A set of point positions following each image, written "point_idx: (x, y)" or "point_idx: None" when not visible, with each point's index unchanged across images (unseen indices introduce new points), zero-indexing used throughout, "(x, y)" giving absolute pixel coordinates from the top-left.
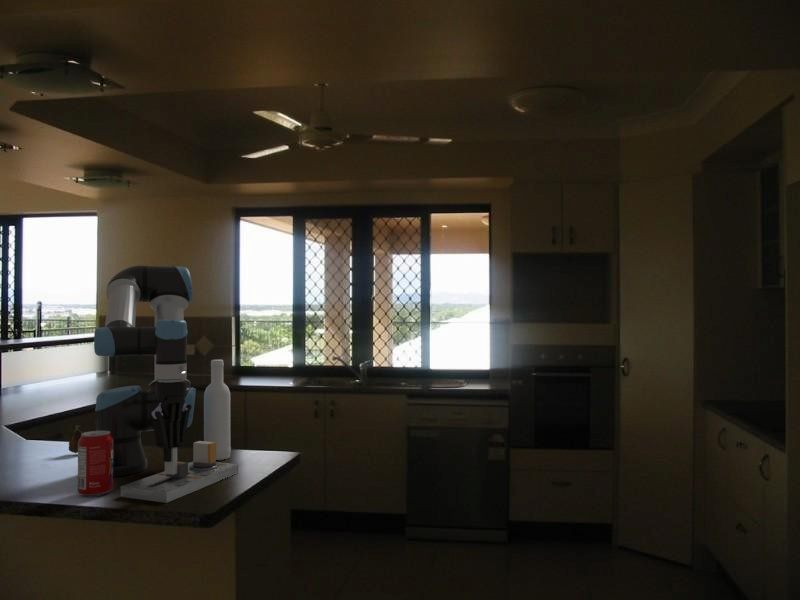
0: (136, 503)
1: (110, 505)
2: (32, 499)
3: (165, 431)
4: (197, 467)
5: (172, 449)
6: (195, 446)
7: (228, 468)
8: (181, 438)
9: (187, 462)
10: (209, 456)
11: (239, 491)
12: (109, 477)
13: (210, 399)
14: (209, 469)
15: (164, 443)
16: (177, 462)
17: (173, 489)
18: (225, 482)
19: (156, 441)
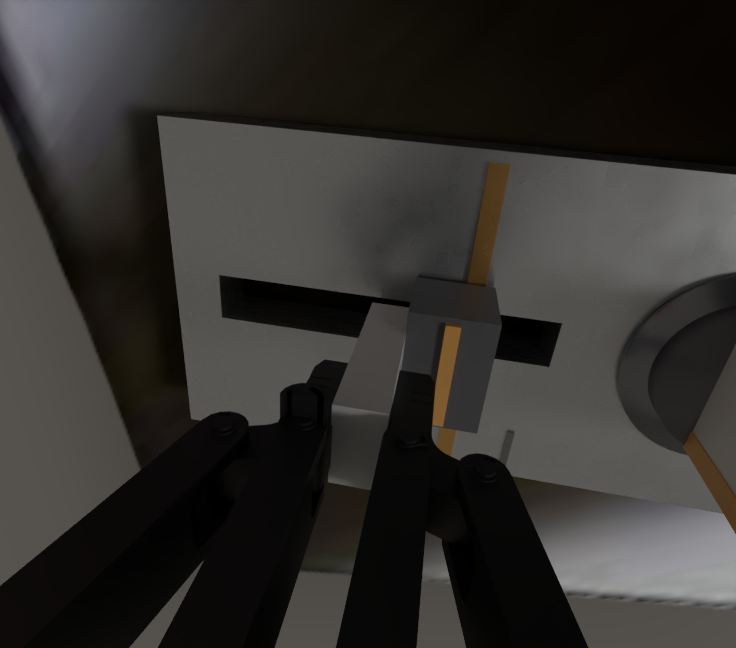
0: (153, 273)
1: (74, 170)
2: None
3: (138, 631)
4: (651, 367)
5: (331, 469)
6: None
7: (690, 505)
8: (445, 558)
9: (474, 430)
10: (707, 478)
11: (436, 567)
12: None
13: None
14: (641, 431)
15: (195, 511)
16: (441, 382)
17: None
18: (565, 485)
19: (169, 451)
